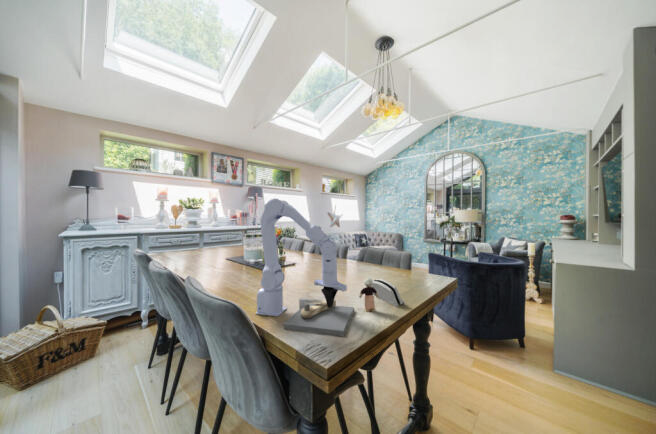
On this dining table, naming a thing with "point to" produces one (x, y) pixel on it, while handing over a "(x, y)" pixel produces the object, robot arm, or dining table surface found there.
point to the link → (314, 309)
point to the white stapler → (387, 292)
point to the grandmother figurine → (369, 295)
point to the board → (322, 321)
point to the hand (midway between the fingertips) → (330, 307)
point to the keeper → (307, 300)
